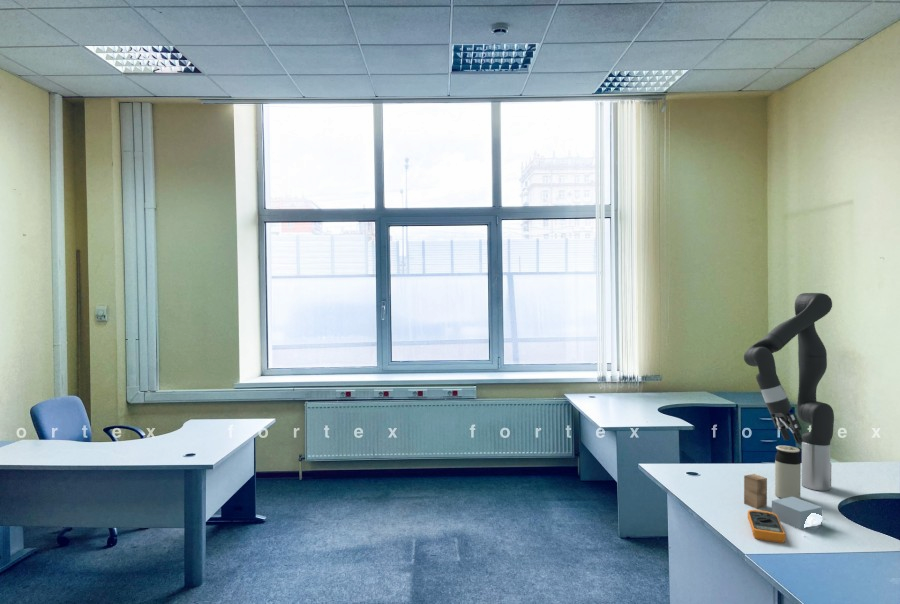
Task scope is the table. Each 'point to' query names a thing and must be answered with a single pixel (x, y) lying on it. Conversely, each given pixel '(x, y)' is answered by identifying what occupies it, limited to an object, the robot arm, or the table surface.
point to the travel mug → (787, 472)
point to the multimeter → (766, 526)
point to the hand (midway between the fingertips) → (793, 441)
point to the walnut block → (755, 491)
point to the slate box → (794, 511)
